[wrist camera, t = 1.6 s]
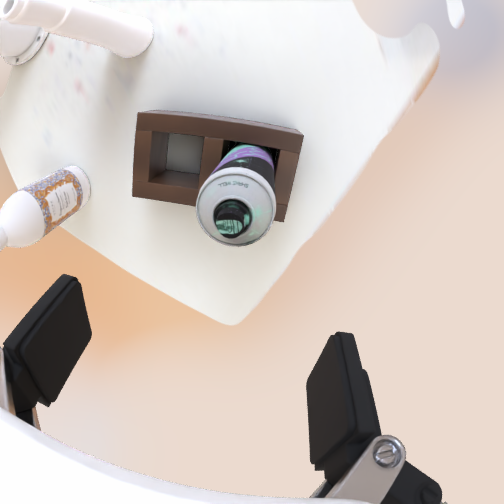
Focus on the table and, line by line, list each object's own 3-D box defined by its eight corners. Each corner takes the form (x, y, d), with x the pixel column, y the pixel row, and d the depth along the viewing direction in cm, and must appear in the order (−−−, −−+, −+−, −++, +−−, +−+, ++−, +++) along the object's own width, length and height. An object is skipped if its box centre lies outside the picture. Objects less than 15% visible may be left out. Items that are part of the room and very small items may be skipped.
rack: (157, 109, 32) (137, 112, 26) (298, 130, 32) (304, 135, 27) (150, 182, 36) (132, 196, 31) (281, 204, 37) (283, 222, 32)
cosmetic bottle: (140, 63, 28) (11, 48, 9) (105, 51, 27) (-24, 41, 8) (162, 23, 26) (51, -33, 6) (126, 13, 24) (8, -29, 5)
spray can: (282, 165, 34) (295, 236, 17) (246, 189, 36) (224, 280, 19) (255, 129, 32) (237, 161, 15) (219, 156, 34) (166, 217, 17)
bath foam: (95, 206, 38) (8, 281, 21) (63, 209, 39) (-21, 276, 21) (87, 162, 35) (-15, 218, 18) (55, 167, 35) (-41, 222, 18)
